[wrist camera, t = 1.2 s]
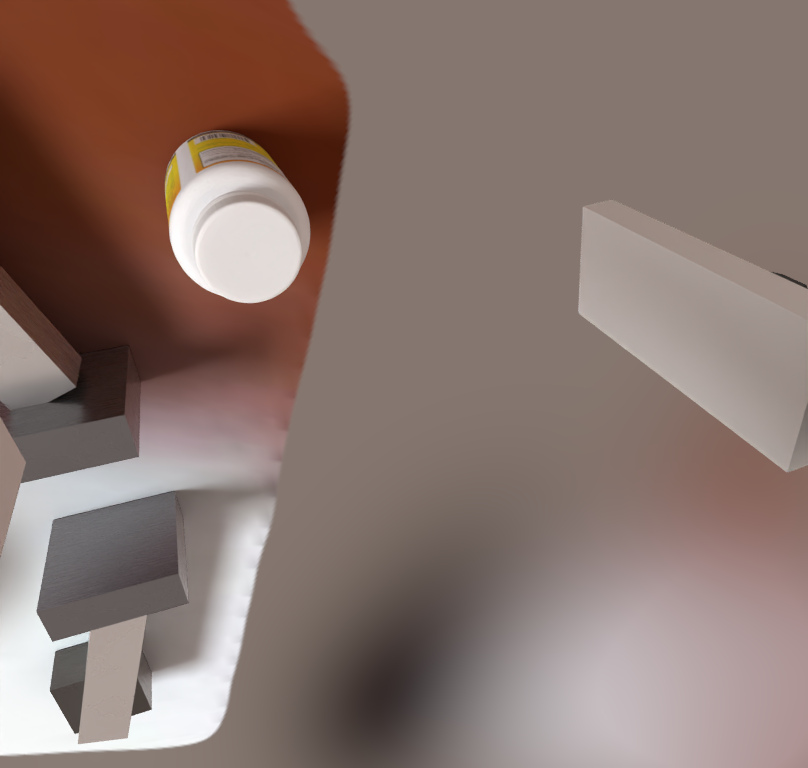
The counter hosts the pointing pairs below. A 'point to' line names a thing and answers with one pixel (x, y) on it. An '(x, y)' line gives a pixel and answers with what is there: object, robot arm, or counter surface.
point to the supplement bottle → (234, 217)
